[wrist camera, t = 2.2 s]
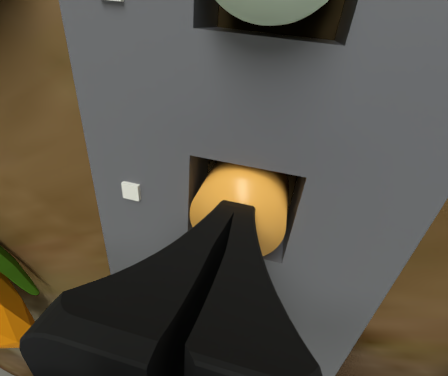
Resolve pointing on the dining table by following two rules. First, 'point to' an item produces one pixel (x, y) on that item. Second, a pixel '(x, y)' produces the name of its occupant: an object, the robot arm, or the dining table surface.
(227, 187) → the orange button
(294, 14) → the green button
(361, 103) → the button console
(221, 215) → the robot arm
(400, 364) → the dining table surface
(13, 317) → the corn
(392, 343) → the dining table surface
